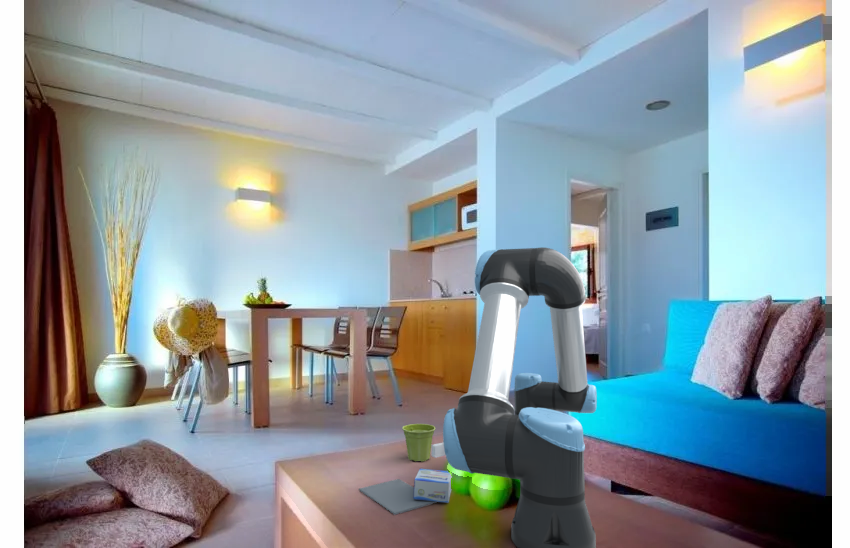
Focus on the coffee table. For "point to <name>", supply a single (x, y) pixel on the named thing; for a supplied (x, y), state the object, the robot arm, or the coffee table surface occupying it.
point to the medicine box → (432, 485)
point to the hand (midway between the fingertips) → (433, 451)
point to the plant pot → (418, 441)
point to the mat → (395, 496)
